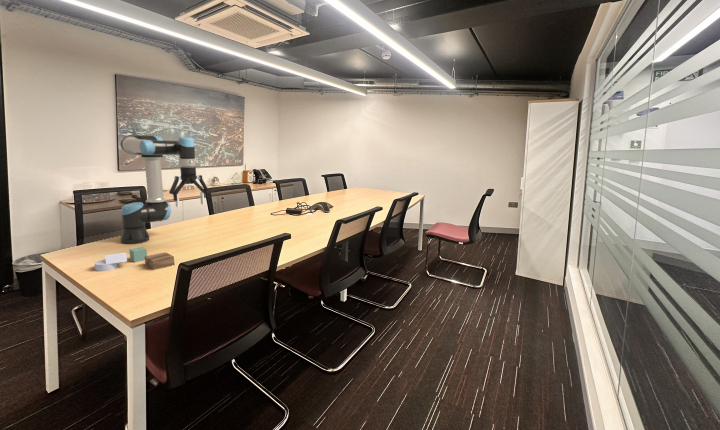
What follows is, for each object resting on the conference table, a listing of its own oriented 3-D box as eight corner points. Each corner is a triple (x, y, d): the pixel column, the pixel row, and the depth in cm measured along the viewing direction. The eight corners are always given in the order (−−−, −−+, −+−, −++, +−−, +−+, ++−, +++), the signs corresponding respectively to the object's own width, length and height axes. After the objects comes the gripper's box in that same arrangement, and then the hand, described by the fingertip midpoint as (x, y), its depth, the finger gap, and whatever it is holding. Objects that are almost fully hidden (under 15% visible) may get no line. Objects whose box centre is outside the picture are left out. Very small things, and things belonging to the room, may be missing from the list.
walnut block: (145, 265, 180) (144, 256, 179) (166, 261, 187) (165, 252, 186) (153, 270, 173) (152, 260, 172) (174, 265, 181) (173, 256, 180)
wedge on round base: (126, 262, 183) (95, 267, 175) (125, 250, 181) (93, 254, 174) (127, 267, 175) (95, 272, 168) (126, 254, 174) (93, 259, 167)
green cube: (130, 260, 187) (129, 249, 185) (142, 257, 191) (141, 246, 190) (134, 262, 183) (133, 251, 182) (147, 260, 188) (146, 249, 186)
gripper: (166, 167, 179) (169, 209, 183) (213, 166, 198) (215, 203, 202) (160, 166, 184) (163, 206, 188) (207, 165, 202) (209, 202, 207)
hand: (190, 205), depth 195 cm, fingers open, 13 cm apart
